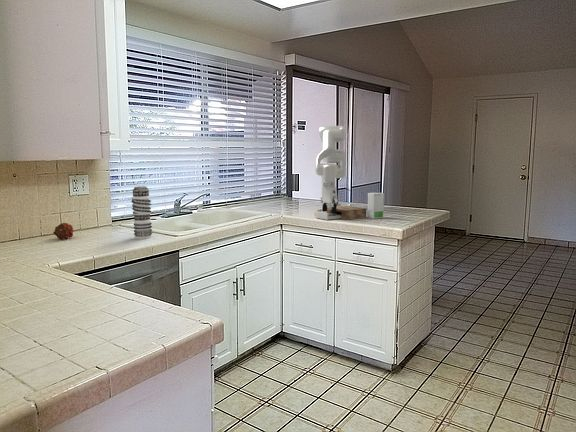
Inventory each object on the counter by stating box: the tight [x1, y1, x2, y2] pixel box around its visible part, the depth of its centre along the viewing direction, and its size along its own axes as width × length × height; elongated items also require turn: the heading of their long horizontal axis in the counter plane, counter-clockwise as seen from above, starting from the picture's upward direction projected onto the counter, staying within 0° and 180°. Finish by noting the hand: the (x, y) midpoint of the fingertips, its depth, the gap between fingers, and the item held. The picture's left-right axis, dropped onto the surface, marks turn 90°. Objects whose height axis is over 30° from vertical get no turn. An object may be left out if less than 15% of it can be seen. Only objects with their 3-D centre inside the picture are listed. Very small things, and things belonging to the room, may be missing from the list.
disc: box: [324, 211, 335, 217], centre depth 283 cm, size 7×7×2 cm
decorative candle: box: [130, 185, 153, 240], centre depth 225 cm, size 9×9×25 cm
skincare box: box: [366, 192, 385, 219], centre depth 282 cm, size 8×7×16 cm
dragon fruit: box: [53, 222, 74, 240], centre depth 224 cm, size 8×8×12 cm
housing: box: [326, 205, 367, 221], centre depth 289 cm, size 16×20×5 cm
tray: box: [314, 210, 342, 221], centre depth 283 cm, size 15×13×4 cm
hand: (329, 212), depth 283 cm, fingers open, 9 cm apart
